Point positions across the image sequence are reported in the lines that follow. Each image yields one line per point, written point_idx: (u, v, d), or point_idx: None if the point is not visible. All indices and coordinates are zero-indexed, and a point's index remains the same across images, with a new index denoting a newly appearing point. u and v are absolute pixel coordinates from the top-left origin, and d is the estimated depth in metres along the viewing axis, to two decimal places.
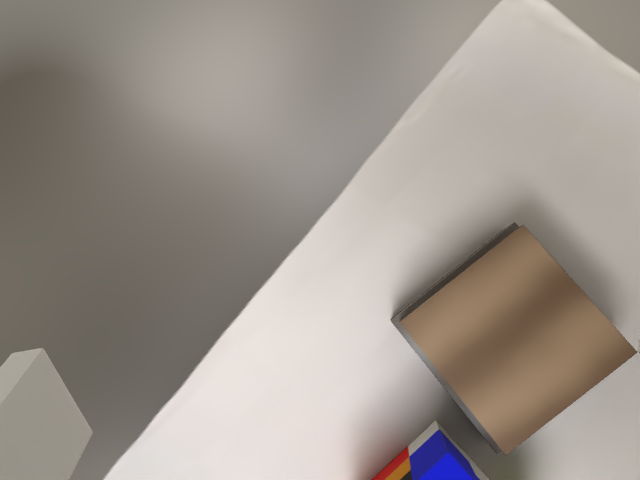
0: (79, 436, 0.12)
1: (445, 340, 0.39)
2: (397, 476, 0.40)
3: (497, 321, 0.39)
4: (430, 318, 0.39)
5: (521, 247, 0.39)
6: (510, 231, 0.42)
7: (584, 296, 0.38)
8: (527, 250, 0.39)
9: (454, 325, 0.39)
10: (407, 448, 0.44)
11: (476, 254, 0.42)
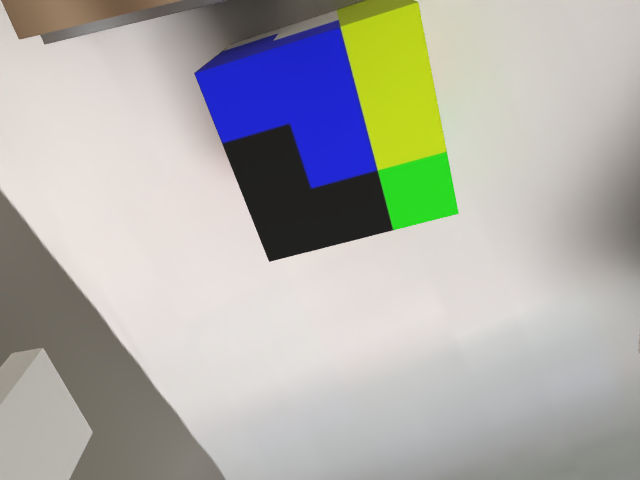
0: (79, 436, 0.12)
1: None
2: None
3: None
4: None
5: None
6: None
7: None
8: None
9: None
10: None
11: None
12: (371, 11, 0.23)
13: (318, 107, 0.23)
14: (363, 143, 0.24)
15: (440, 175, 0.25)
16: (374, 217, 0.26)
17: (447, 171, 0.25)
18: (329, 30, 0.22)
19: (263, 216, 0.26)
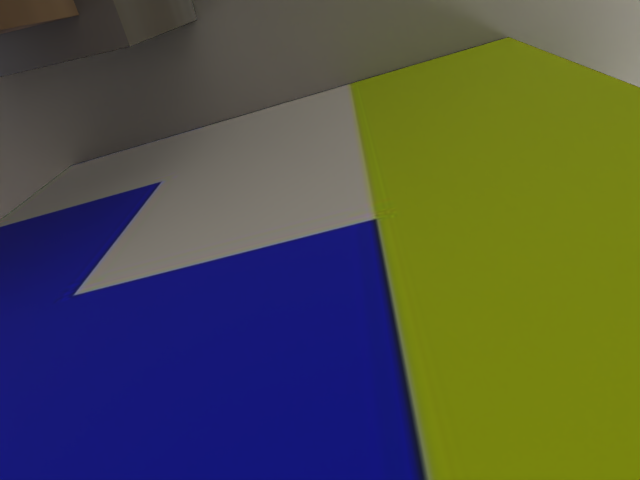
0: None
1: None
2: None
3: None
4: None
5: None
6: None
7: None
8: None
9: None
10: None
11: None
12: (583, 228, 0.04)
13: None
14: None
15: None
16: None
17: None
18: None
19: None
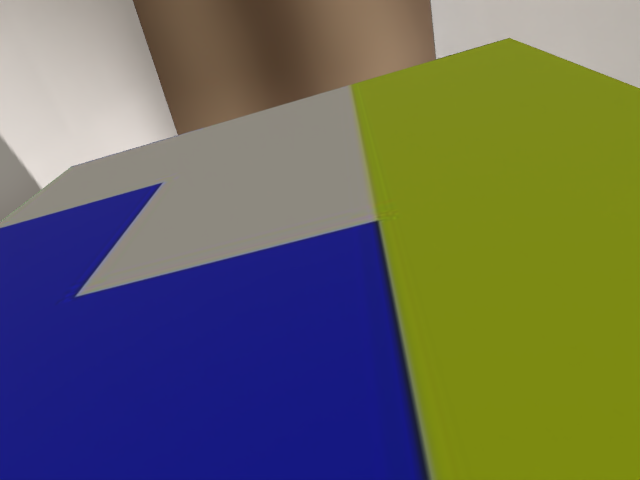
0: None
1: None
2: None
3: None
4: None
5: (167, 17, 0.22)
6: None
7: None
8: (176, 8, 0.21)
9: None
10: None
11: None
12: (585, 231, 0.04)
13: None
14: None
15: None
16: None
17: None
18: None
19: None
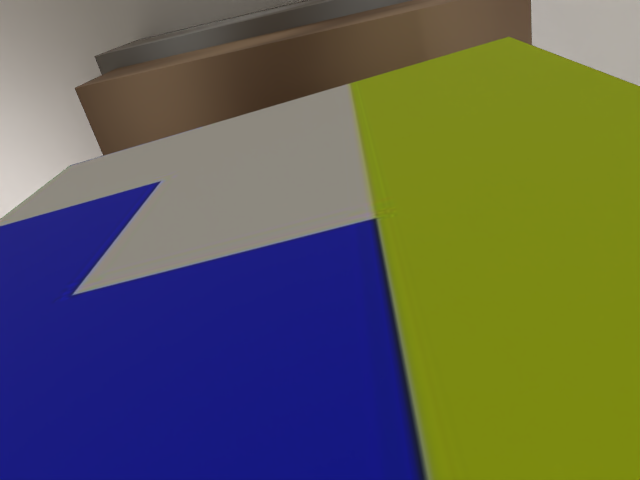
0: None
1: None
2: None
3: None
4: None
5: (134, 124, 0.14)
6: None
7: (320, 38, 0.13)
8: (146, 111, 0.14)
9: None
10: None
11: None
12: (584, 228, 0.04)
13: None
14: None
15: None
16: None
17: None
18: None
19: None
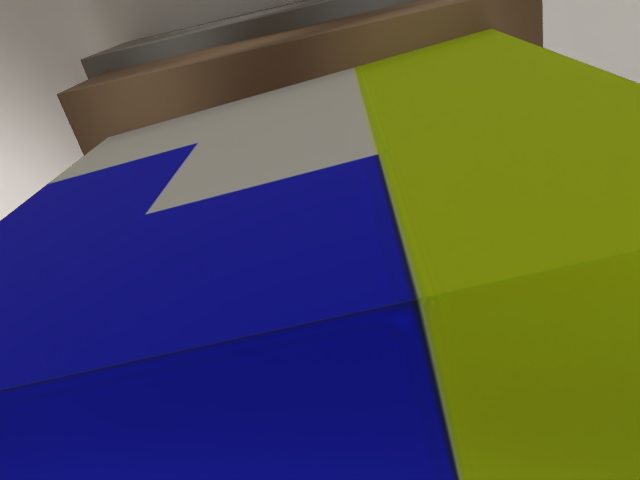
0: None
1: None
2: None
3: None
4: None
5: (120, 132, 0.13)
6: None
7: (318, 42, 0.12)
8: (133, 119, 0.13)
9: None
10: None
11: None
12: (523, 149, 0.06)
13: None
14: None
15: None
16: None
17: None
18: (354, 307, 0.04)
19: None
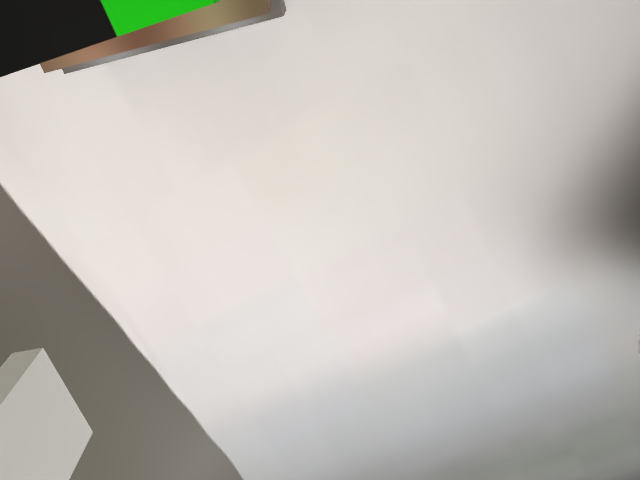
0: (79, 436, 0.12)
1: None
2: None
3: None
4: None
5: None
6: None
7: None
8: None
9: None
10: None
11: None
12: None
13: None
14: None
15: None
16: (82, 13, 0.16)
17: None
18: None
19: None
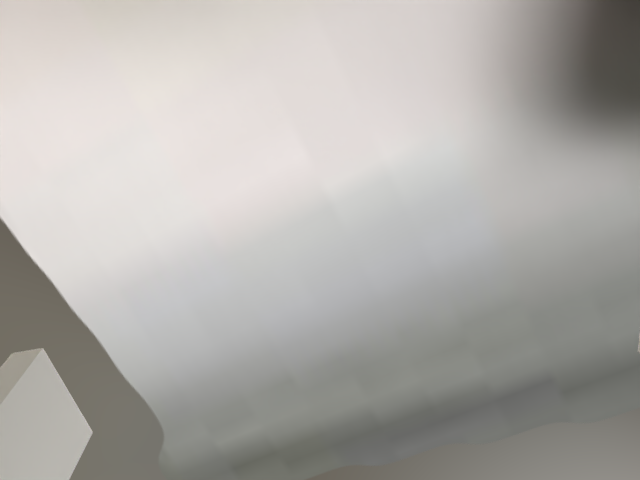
0: (79, 436, 0.12)
1: None
2: None
3: None
4: None
5: None
6: None
7: None
8: None
9: None
10: None
11: None
12: None
13: None
14: None
15: None
16: None
17: None
18: None
19: None
